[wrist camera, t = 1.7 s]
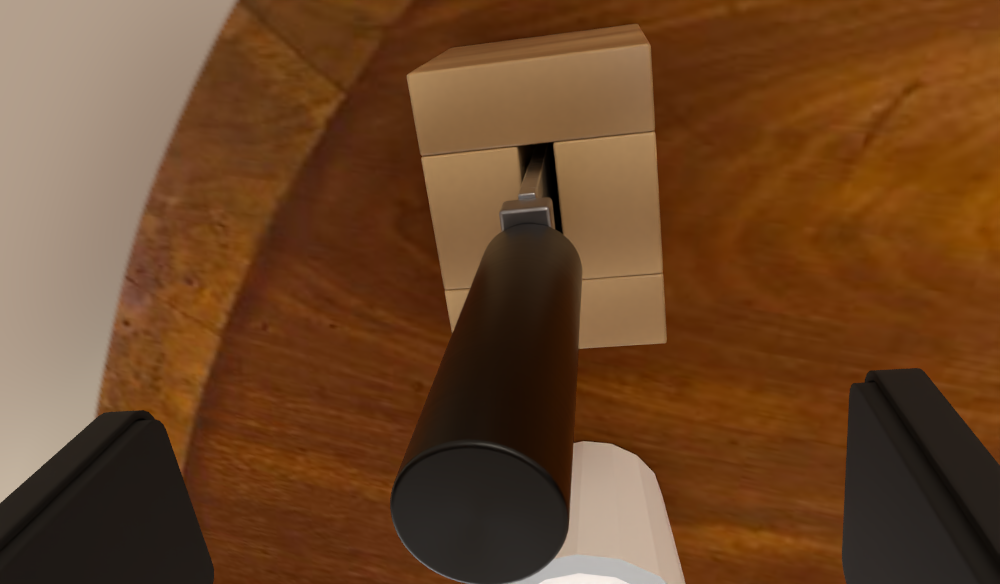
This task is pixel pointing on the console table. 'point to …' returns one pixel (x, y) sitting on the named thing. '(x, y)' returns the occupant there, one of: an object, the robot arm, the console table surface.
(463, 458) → the knife
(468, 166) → the knife block
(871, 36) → the console table surface
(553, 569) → the white cylinder
